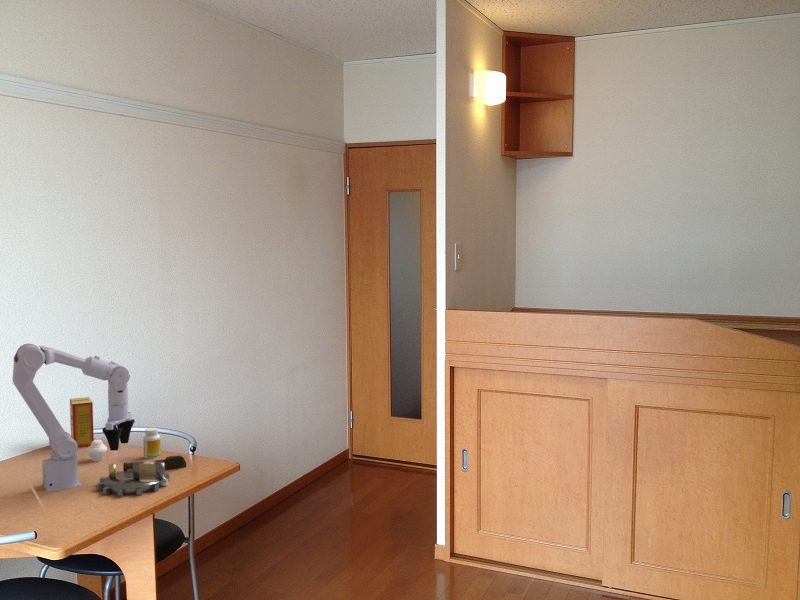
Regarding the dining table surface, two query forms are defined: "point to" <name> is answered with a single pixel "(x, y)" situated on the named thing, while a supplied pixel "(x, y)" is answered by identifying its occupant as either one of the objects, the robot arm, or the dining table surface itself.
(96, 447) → the white ribbed jar
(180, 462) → the dark brown rough bar
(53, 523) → the dining table surface
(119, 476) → the sprocket
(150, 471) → the cartridge fuse
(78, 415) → the baking soda box
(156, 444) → the supplement bottle
